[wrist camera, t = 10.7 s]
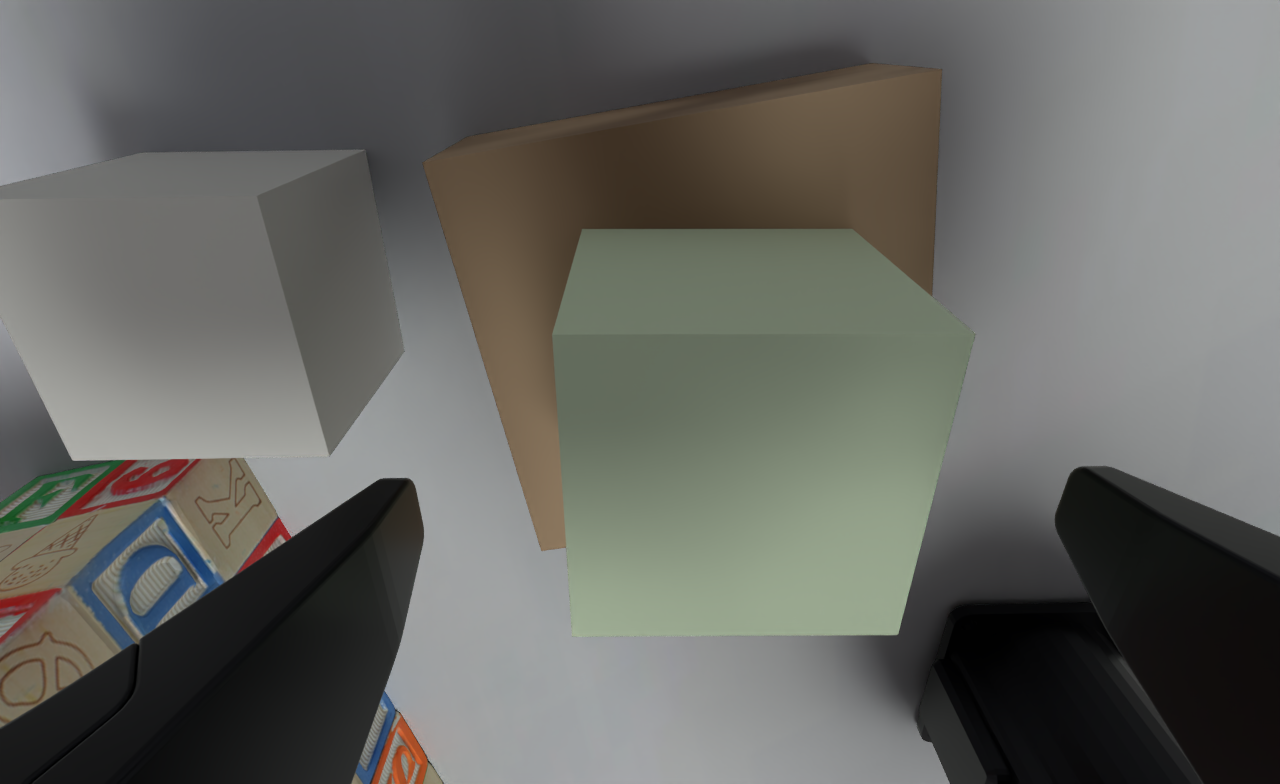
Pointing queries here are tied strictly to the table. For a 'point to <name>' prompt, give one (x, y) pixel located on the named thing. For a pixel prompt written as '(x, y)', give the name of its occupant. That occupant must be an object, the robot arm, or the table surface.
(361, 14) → the table surface
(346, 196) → the grey cube
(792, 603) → the sage cube
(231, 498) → the stack of blocks
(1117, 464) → the table surface
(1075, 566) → the robot arm
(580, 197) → the walnut block
